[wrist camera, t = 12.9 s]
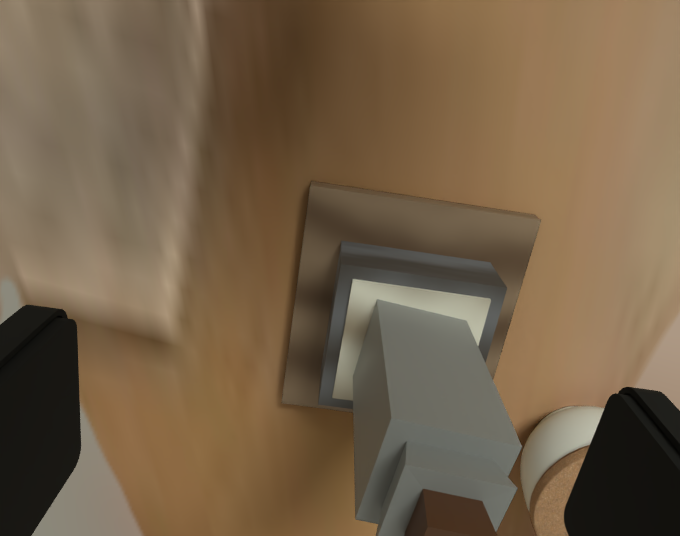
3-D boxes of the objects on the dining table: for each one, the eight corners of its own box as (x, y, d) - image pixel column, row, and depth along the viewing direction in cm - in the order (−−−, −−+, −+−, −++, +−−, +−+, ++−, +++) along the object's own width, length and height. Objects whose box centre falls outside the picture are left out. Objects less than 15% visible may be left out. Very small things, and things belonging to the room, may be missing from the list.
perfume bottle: (466, 320, 40) (554, 519, 23) (437, 396, 42) (497, 625, 25) (377, 299, 39) (399, 487, 22) (352, 376, 42) (356, 598, 25)
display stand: (311, 181, 43) (305, 204, 36) (535, 214, 44) (566, 243, 37) (283, 393, 50) (274, 442, 44) (474, 418, 51) (492, 470, 45)
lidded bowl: (614, 494, 54) (676, 598, 44) (490, 481, 54) (523, 583, 44) (657, 388, 50) (738, 477, 39) (521, 373, 49) (566, 459, 39)
